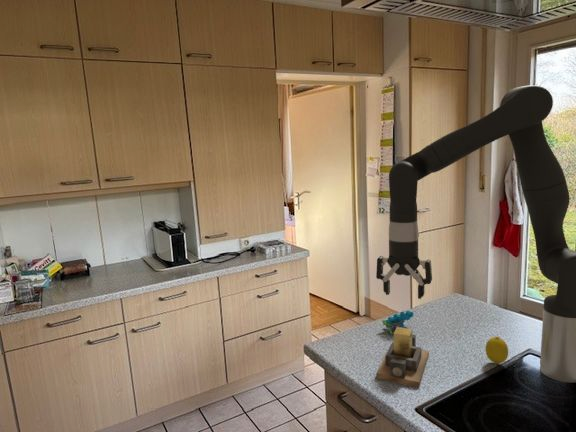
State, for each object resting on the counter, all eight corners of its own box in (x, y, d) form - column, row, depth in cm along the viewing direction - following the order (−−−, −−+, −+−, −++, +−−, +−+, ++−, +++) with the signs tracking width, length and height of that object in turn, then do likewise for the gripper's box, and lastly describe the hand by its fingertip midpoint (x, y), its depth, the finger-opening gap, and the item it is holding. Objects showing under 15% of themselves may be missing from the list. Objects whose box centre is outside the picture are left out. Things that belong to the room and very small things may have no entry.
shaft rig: (428, 355, 117) (429, 336, 116) (419, 387, 102) (419, 366, 101) (390, 348, 122) (390, 330, 121) (376, 378, 107) (376, 357, 106)
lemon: (508, 370, 107) (509, 343, 106) (485, 366, 110) (486, 339, 108) (506, 360, 112) (508, 334, 111) (484, 357, 115) (485, 331, 113)
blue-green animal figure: (408, 317, 140) (415, 306, 132) (415, 333, 136) (423, 323, 128) (378, 325, 138) (384, 314, 130) (385, 341, 135) (391, 331, 127)
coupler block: (412, 359, 112) (412, 329, 111) (409, 366, 109) (409, 335, 107) (397, 356, 114) (397, 326, 113) (393, 363, 111) (393, 333, 109)
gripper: (373, 239, 106) (374, 297, 109) (429, 242, 99) (429, 304, 102) (380, 233, 113) (381, 288, 115) (433, 235, 106) (433, 294, 109)
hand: (403, 295), depth 109 cm, fingers open, 8 cm apart
